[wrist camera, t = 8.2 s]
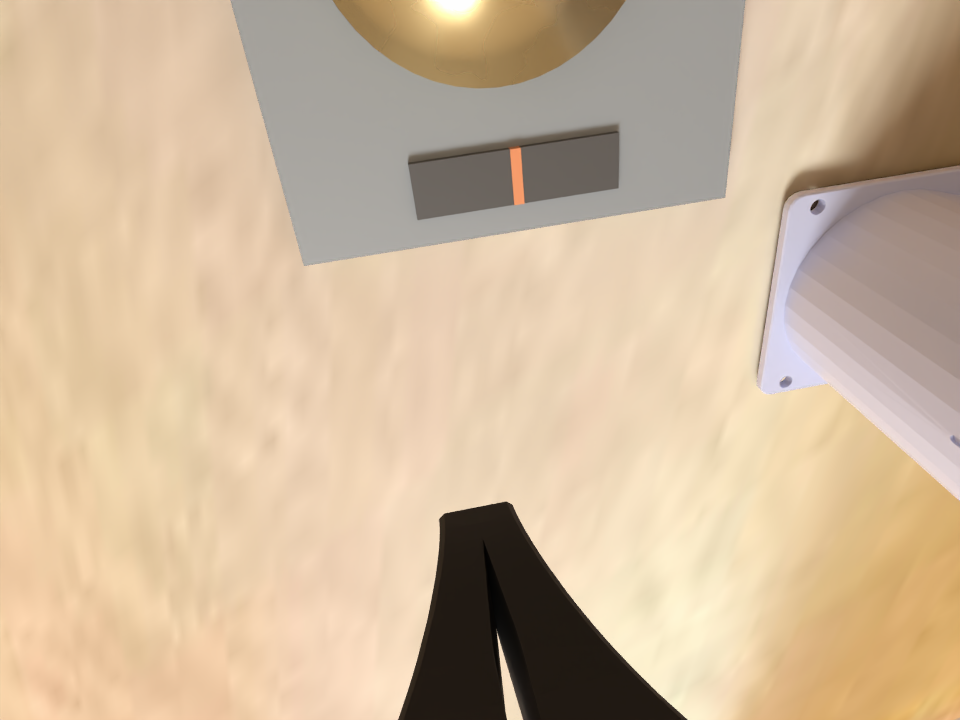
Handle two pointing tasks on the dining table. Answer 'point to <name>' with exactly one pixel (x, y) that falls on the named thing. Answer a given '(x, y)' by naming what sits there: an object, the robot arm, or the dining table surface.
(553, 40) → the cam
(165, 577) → the dining table surface
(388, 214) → the board
